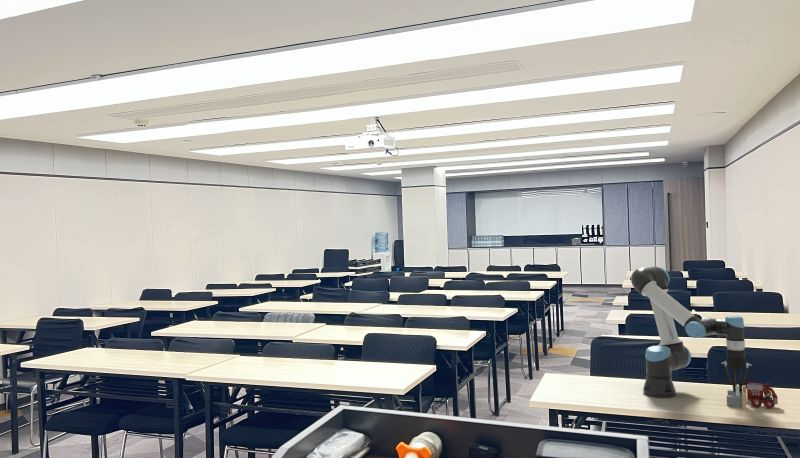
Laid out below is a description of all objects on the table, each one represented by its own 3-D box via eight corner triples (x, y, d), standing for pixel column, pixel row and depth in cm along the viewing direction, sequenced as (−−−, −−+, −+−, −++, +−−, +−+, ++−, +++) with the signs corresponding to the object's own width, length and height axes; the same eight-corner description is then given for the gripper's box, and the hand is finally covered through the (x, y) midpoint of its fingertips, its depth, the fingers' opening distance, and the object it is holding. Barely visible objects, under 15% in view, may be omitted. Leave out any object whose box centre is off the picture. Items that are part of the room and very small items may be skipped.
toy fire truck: (779, 409, 256) (778, 386, 257) (747, 407, 261) (747, 384, 261) (776, 405, 263) (775, 382, 263) (745, 402, 268) (744, 380, 268)
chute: (726, 406, 263) (726, 391, 263) (728, 398, 276) (727, 384, 276) (746, 408, 259) (745, 393, 259) (746, 400, 272) (746, 385, 272)
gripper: (719, 349, 268) (721, 399, 267) (751, 351, 261) (754, 402, 260) (720, 346, 274) (722, 395, 274) (752, 348, 267) (754, 398, 267)
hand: (738, 399), depth 267 cm, fingers closed
